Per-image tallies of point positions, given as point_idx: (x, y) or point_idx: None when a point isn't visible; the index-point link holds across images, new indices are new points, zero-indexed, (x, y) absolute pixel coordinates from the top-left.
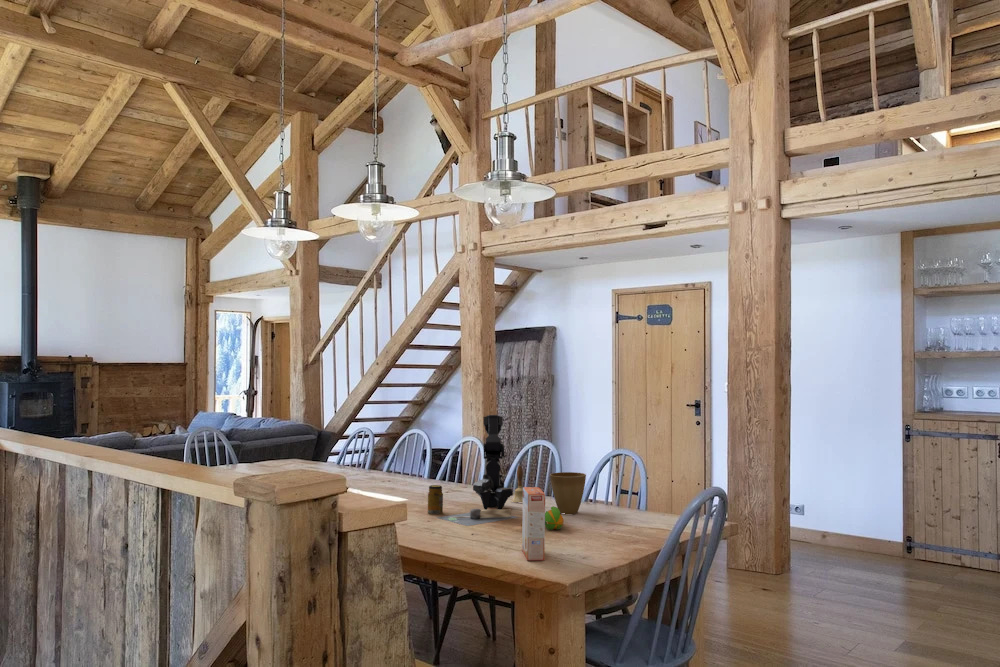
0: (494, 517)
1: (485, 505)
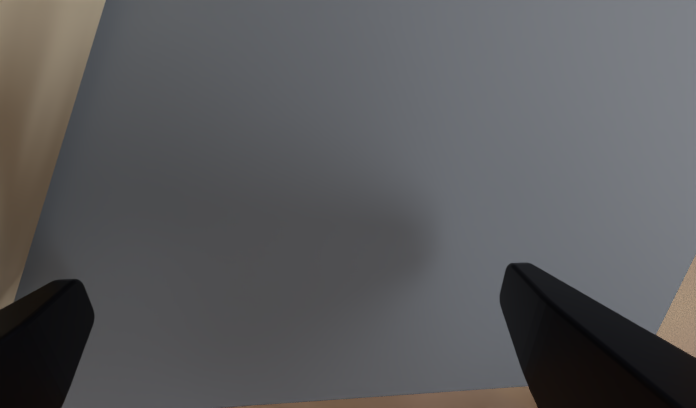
0: (80, 155)
1: (547, 335)
